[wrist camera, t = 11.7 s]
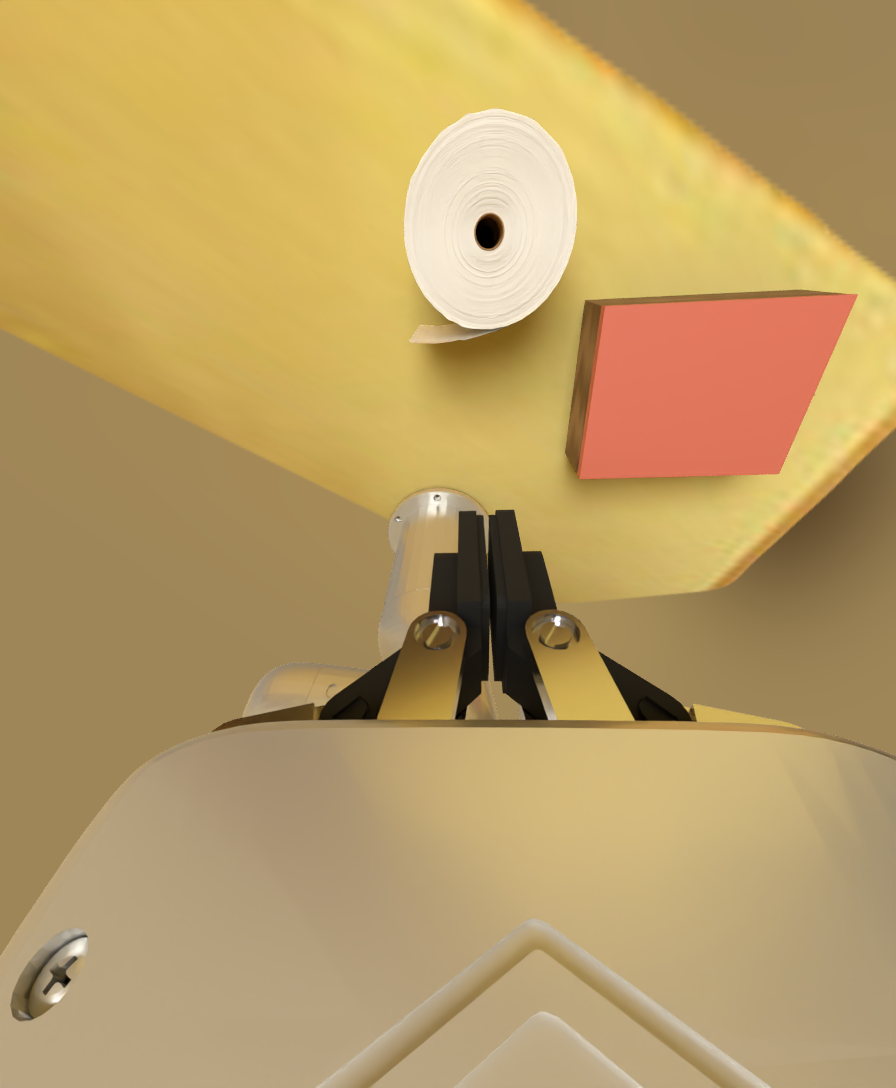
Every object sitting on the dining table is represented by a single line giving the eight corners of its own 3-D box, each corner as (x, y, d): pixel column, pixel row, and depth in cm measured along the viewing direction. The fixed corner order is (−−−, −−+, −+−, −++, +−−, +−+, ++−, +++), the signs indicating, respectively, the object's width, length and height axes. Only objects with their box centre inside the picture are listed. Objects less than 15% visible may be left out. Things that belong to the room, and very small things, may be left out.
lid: (771, 469, 38) (778, 474, 37) (577, 474, 39) (579, 479, 38) (847, 294, 30) (858, 294, 29) (601, 305, 31) (605, 306, 30)
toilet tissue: (565, 159, 30) (603, 121, 22) (529, 337, 37) (548, 359, 29) (422, 139, 30) (406, 94, 21) (413, 323, 37) (399, 341, 28)
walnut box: (736, 452, 43) (765, 473, 38) (564, 457, 43) (575, 478, 39) (800, 289, 34) (846, 294, 30) (585, 300, 35) (601, 305, 31)
